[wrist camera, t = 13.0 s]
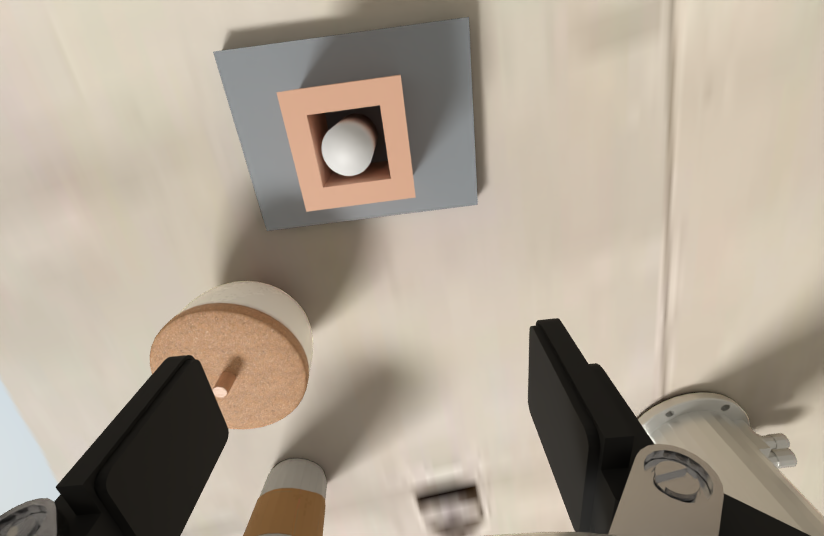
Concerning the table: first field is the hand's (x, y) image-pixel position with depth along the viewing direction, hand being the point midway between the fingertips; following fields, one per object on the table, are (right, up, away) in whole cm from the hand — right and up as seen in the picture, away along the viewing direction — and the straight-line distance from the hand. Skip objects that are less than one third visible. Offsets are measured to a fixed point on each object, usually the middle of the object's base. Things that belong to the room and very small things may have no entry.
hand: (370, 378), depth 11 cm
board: (-3, +13, +17) cm, 21 cm away
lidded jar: (-12, -1, +24) cm, 27 cm away
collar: (-2, +12, +16) cm, 20 cm away
